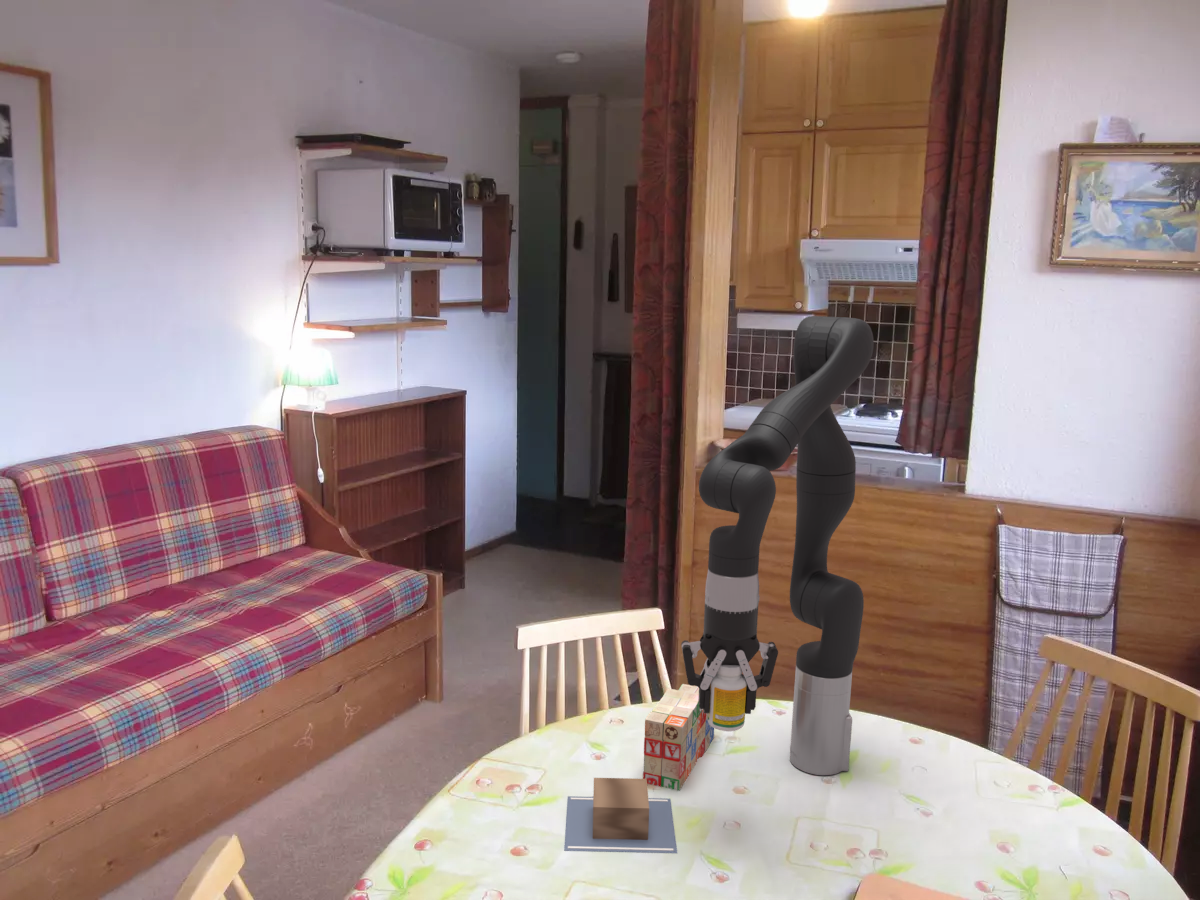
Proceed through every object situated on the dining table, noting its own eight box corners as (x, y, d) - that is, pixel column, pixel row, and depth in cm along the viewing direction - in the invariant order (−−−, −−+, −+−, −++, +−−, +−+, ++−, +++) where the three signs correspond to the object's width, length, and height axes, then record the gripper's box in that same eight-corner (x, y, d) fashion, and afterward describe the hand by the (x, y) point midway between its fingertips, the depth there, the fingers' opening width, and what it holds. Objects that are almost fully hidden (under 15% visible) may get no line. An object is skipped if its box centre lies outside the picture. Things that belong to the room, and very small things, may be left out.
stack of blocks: (680, 730, 173) (683, 667, 171) (714, 737, 171) (717, 673, 168) (641, 789, 153) (644, 718, 151) (679, 798, 151) (682, 725, 149)
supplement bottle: (700, 719, 140) (703, 657, 138) (731, 712, 142) (734, 651, 140) (720, 735, 135) (723, 672, 133) (752, 728, 138) (755, 665, 136)
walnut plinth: (645, 808, 146) (646, 778, 145) (648, 839, 138) (649, 808, 137) (593, 807, 146) (593, 777, 145) (592, 838, 138) (593, 807, 137)
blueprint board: (670, 804, 149) (670, 797, 149) (677, 859, 135) (677, 852, 135) (567, 802, 149) (567, 795, 149) (564, 856, 135) (564, 849, 135)
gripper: (777, 592, 139) (771, 700, 142) (678, 590, 139) (674, 698, 142) (787, 610, 131) (780, 724, 135) (683, 608, 131) (678, 722, 135)
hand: (726, 710), depth 138 cm, fingers closed on supplement bottle, 5 cm apart
